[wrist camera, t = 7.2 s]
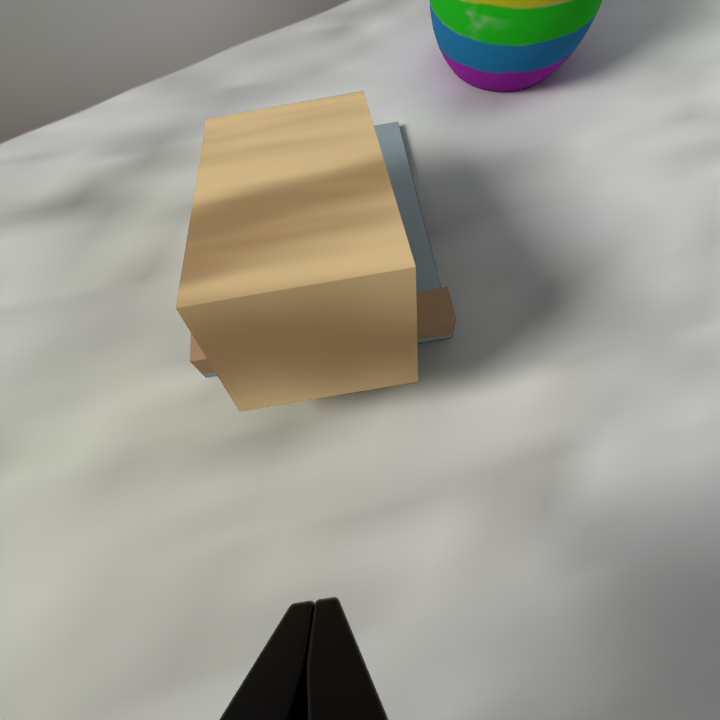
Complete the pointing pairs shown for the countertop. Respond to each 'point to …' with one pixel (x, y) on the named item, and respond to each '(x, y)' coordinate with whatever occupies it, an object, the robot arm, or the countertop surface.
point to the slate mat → (430, 297)
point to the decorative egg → (509, 38)
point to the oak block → (299, 256)
